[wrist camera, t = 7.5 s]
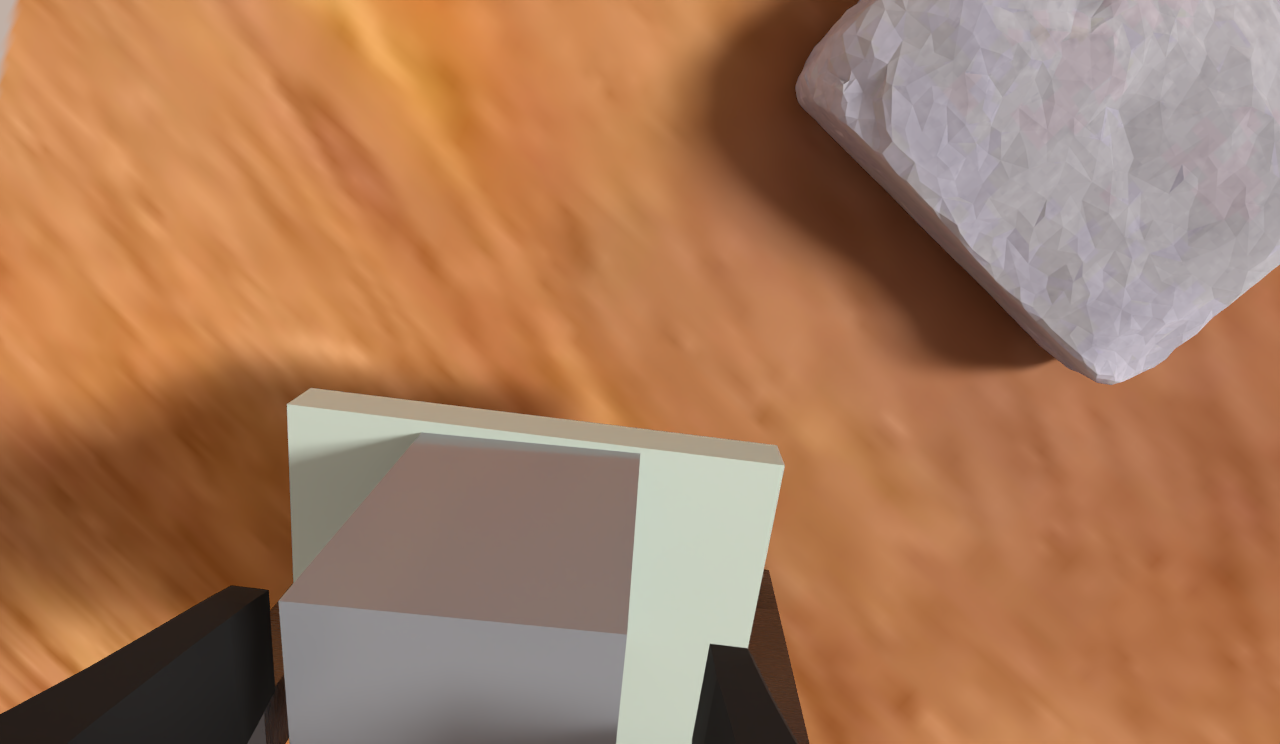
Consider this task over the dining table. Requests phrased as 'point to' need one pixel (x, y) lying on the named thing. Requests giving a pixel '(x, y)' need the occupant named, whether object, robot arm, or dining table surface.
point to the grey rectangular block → (469, 601)
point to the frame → (762, 645)
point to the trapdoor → (663, 541)
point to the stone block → (1072, 155)
